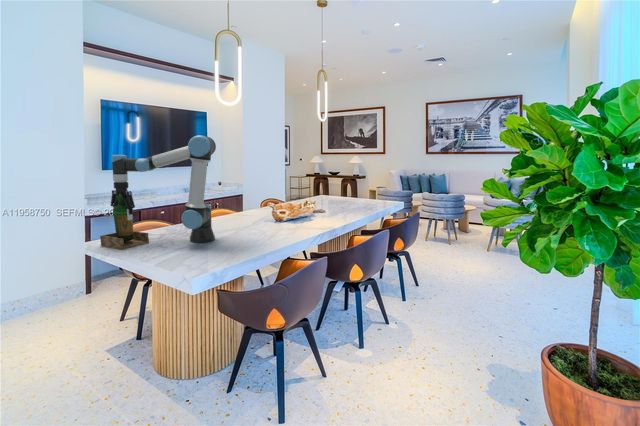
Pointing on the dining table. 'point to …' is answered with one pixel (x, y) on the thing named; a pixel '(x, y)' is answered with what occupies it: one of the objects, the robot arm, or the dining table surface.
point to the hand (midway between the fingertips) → (123, 219)
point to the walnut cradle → (118, 243)
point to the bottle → (122, 221)
